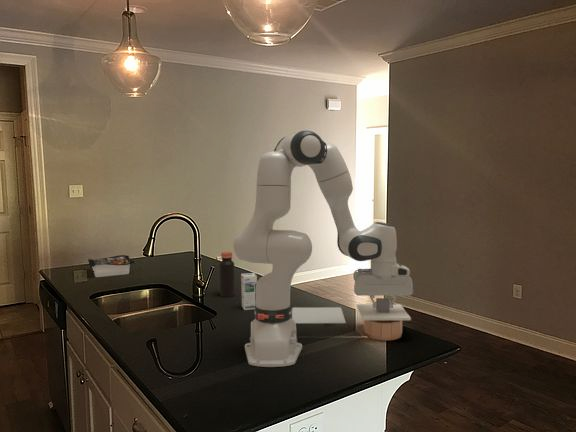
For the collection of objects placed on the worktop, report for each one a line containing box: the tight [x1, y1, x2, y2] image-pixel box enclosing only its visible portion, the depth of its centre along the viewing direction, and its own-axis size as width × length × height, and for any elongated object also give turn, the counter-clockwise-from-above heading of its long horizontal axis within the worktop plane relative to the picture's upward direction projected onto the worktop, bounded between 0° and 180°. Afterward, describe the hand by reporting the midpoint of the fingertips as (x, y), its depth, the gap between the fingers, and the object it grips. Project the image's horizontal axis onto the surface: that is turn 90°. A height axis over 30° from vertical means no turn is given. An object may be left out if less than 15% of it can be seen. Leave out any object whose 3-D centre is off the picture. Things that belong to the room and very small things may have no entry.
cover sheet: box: [356, 297, 412, 321], centre depth 170 cm, size 16×16×5 cm
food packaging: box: [87, 254, 135, 278], centre depth 274 cm, size 25×8×23 cm
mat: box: [291, 306, 347, 324], centre depth 190 cm, size 20×20×1 cm
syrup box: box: [240, 272, 258, 311], centre depth 203 cm, size 6×6×14 cm
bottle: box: [219, 251, 236, 298], centre depth 223 cm, size 7×7×20 cm
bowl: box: [363, 320, 403, 342], centre depth 171 cm, size 13×13×6 cm
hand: (382, 307), depth 170 cm, fingers closed on cover sheet, 4 cm apart
